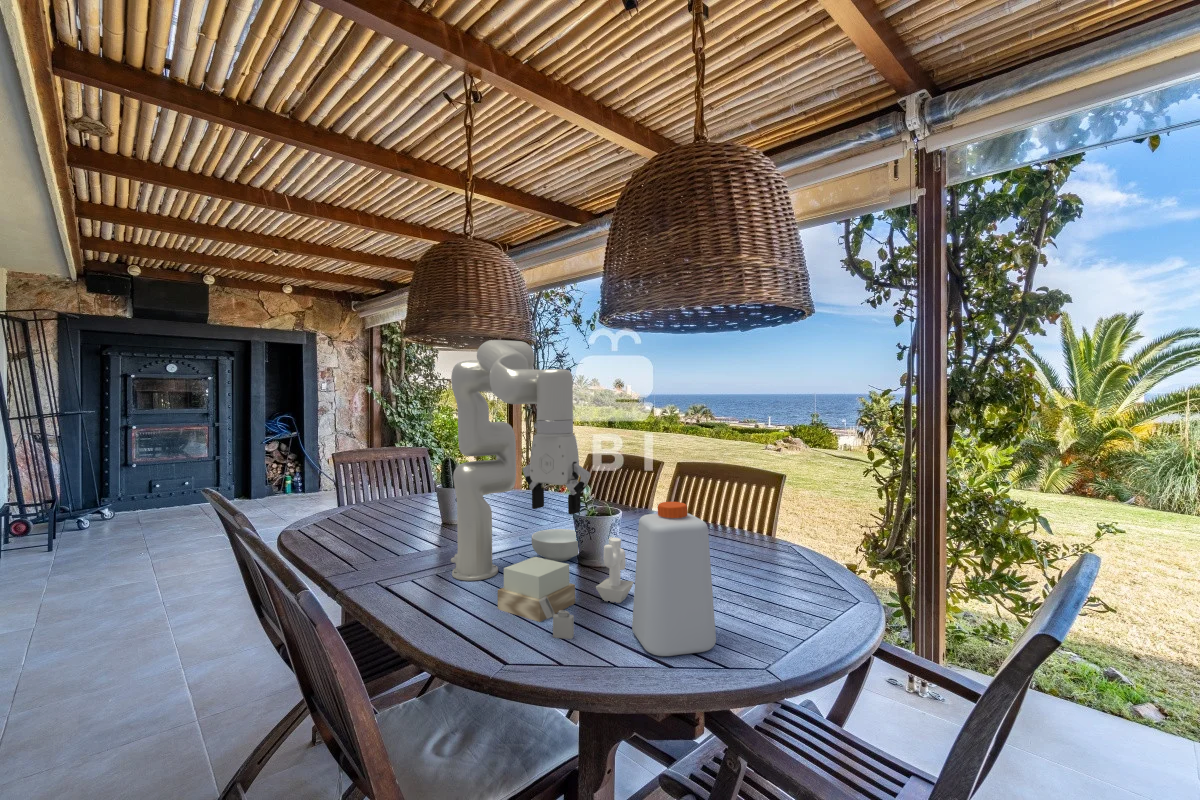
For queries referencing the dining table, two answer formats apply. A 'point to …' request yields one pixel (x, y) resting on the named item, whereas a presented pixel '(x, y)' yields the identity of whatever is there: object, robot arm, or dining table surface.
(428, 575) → the dining table surface
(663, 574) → the plastic bottle
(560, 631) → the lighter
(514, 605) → the birch base block
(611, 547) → the figurine
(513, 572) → the sage top block
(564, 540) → the cereal bowl
